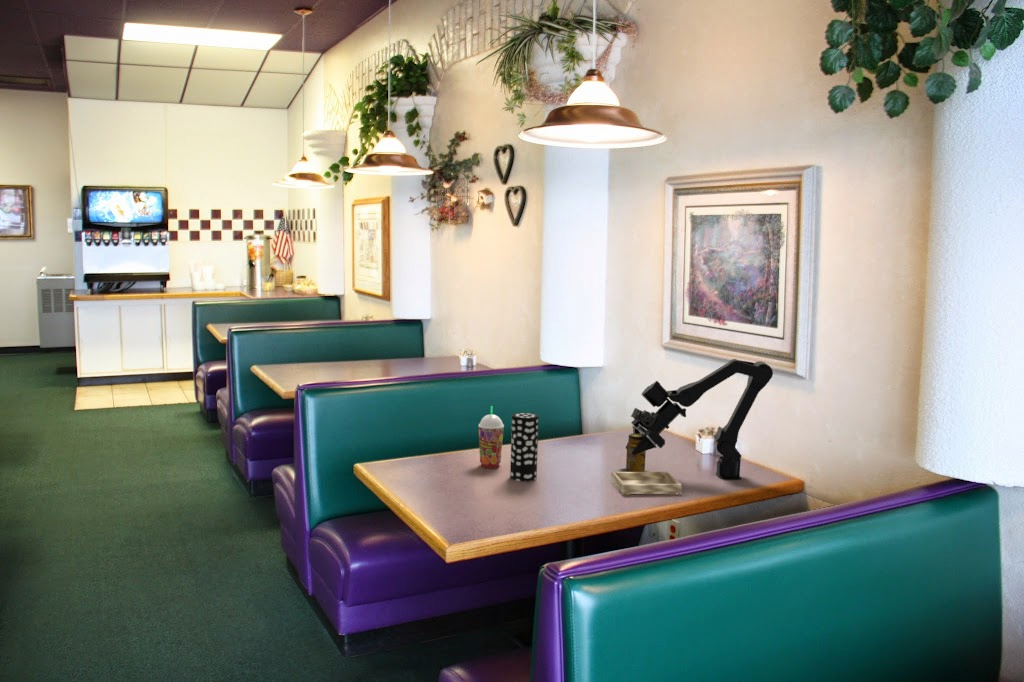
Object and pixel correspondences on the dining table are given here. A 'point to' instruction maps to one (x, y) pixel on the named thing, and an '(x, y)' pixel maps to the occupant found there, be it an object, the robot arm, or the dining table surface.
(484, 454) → the smoothie
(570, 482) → the dining table surface
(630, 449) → the condiment
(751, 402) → the robot arm
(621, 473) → the tray
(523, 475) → the white-spotted black cylinder
